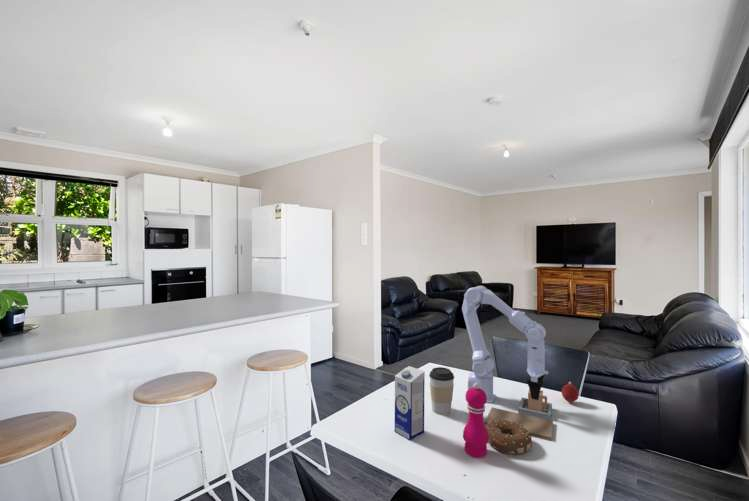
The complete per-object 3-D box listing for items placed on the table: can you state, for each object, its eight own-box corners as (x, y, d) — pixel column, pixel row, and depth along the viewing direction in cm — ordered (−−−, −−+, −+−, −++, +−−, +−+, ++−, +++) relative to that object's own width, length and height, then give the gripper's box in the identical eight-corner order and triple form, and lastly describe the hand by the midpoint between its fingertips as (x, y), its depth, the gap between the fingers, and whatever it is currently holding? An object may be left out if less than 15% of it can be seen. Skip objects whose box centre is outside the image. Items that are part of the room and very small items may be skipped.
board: (484, 424, 117) (484, 421, 117) (491, 409, 128) (491, 407, 128) (551, 440, 107) (551, 437, 107) (553, 423, 118) (553, 420, 118)
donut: (496, 427, 116) (496, 412, 115) (539, 444, 106) (539, 428, 106) (474, 444, 106) (474, 427, 105) (519, 464, 96) (519, 446, 96)
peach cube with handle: (528, 411, 126) (528, 392, 126) (529, 406, 130) (529, 388, 130) (546, 416, 123) (546, 396, 123) (547, 410, 127) (547, 391, 127)
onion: (577, 407, 130) (577, 386, 130) (560, 403, 134) (560, 382, 134) (579, 402, 135) (579, 381, 135) (562, 398, 138) (563, 378, 138)
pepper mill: (469, 441, 107) (469, 376, 106) (492, 450, 102) (493, 382, 102) (458, 452, 101) (459, 383, 101) (482, 462, 96) (483, 390, 96)
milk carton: (424, 433, 111) (425, 370, 111) (410, 440, 107) (410, 375, 107) (408, 424, 117) (408, 365, 117) (394, 431, 112) (394, 369, 112)
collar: (518, 413, 125) (518, 408, 125) (521, 402, 134) (521, 397, 134) (550, 420, 120) (550, 415, 120) (552, 408, 129) (552, 403, 129)
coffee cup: (452, 405, 131) (452, 365, 131) (455, 416, 122) (456, 374, 122) (428, 404, 132) (428, 364, 132) (429, 415, 123) (430, 373, 123)
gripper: (547, 365, 119) (546, 405, 119) (549, 354, 132) (549, 390, 132) (524, 362, 122) (524, 400, 122) (528, 351, 135) (528, 386, 135)
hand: (535, 395), depth 127 cm, fingers open, 7 cm apart
